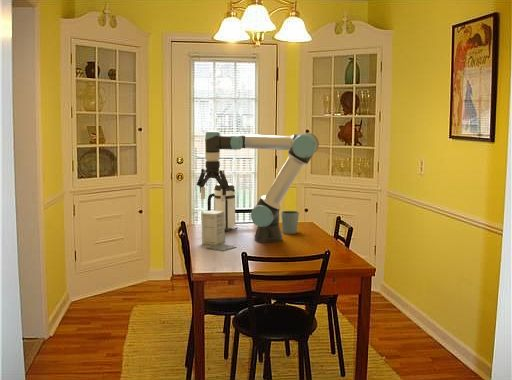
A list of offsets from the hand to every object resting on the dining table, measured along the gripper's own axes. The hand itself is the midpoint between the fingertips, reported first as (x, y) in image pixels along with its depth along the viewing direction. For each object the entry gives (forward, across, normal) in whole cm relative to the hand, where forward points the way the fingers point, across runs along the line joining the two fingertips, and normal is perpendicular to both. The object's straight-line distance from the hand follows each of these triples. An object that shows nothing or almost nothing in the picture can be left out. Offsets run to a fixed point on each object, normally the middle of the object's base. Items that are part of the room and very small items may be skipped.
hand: (212, 200), depth 315 cm
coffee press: (+23, +19, -32) cm, 44 cm away
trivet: (+23, -11, +7) cm, 27 cm away
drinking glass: (+23, -19, -47) cm, 56 cm away
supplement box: (+23, 0, 0) cm, 23 cm away
